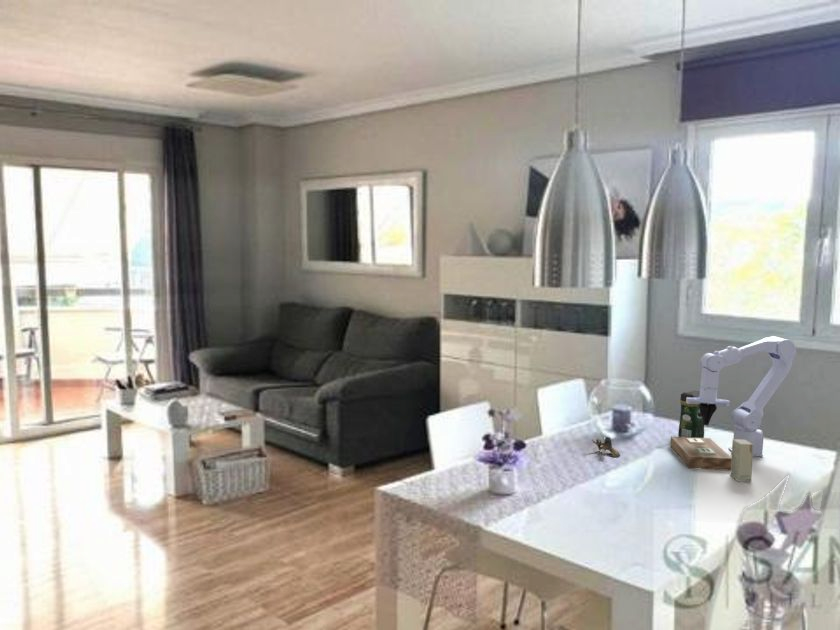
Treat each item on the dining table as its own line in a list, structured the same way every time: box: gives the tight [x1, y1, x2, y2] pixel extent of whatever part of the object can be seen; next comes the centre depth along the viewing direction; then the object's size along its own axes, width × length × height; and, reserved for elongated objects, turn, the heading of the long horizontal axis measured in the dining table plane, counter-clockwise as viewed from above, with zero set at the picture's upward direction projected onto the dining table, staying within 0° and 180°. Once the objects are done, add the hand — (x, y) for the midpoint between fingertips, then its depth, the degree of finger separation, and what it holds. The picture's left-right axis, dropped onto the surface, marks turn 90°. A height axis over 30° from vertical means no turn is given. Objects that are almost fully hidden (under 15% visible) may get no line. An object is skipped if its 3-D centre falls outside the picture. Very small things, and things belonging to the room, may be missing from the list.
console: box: [669, 436, 732, 471], centre depth 247 cm, size 14×24×4 cm, turn 175°
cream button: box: [686, 438, 704, 445], centre depth 253 cm, size 5×5×4 cm
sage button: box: [696, 448, 715, 455], centre depth 241 cm, size 5×5×4 cm
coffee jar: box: [677, 390, 705, 438], centre depth 271 cm, size 10×8×19 cm
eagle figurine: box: [591, 436, 621, 459], centre depth 250 cm, size 8×7×9 cm
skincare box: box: [730, 438, 754, 483], centre depth 227 cm, size 6×4×12 cm
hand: (705, 424), depth 253 cm, fingers closed
